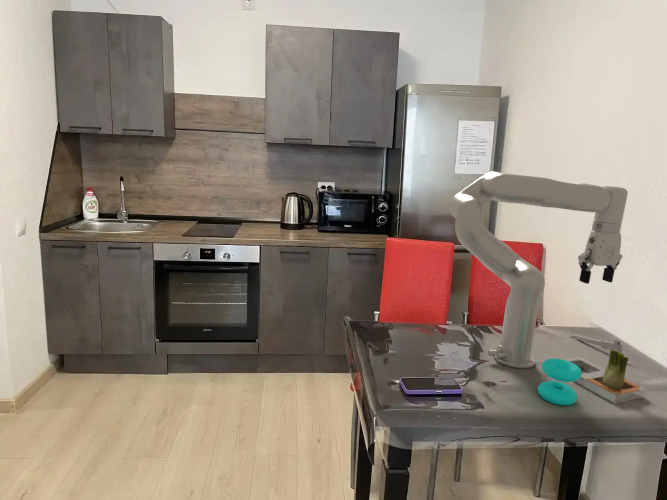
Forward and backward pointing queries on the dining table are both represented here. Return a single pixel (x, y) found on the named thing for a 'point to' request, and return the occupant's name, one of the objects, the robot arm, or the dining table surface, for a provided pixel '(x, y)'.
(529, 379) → the dining table surface
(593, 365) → the orange and grey tray
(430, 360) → the dining table surface
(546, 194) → the robot arm
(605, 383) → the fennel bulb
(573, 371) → the donuts
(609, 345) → the caliper
